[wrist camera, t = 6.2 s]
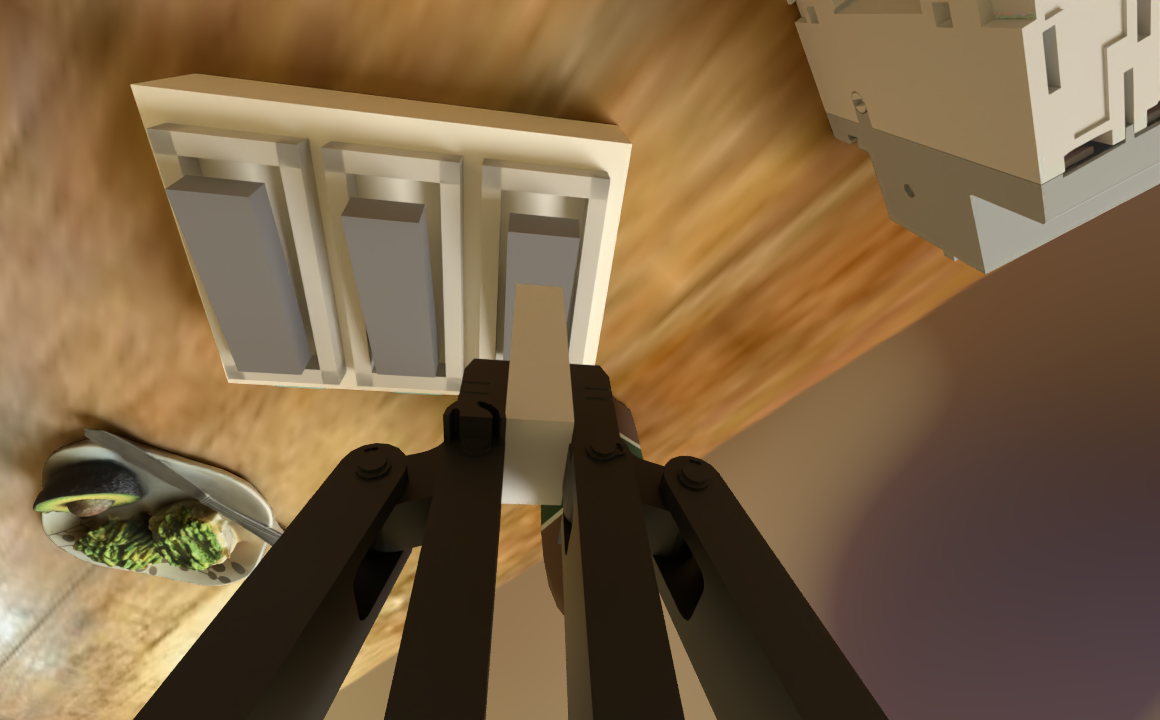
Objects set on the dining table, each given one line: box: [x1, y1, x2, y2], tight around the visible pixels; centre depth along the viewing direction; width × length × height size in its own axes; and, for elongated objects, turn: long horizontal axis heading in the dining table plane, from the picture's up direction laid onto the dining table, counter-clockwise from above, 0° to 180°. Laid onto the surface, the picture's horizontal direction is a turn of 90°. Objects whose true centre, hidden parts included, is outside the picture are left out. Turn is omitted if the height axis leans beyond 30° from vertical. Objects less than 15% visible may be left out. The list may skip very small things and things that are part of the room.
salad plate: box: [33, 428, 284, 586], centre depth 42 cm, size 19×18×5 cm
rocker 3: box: [503, 213, 580, 361], centre depth 26 cm, size 10×3×2 cm, turn 173°
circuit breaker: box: [787, 0, 1160, 274], centre depth 22 cm, size 8×14×15 cm, turn 34°
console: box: [130, 73, 632, 395], centre depth 29 cm, size 16×22×6 cm
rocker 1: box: [165, 175, 312, 375], centre depth 25 cm, size 10×3×2 cm, turn 173°
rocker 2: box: [341, 197, 440, 378], centre depth 26 cm, size 10×3×2 cm, turn 173°
